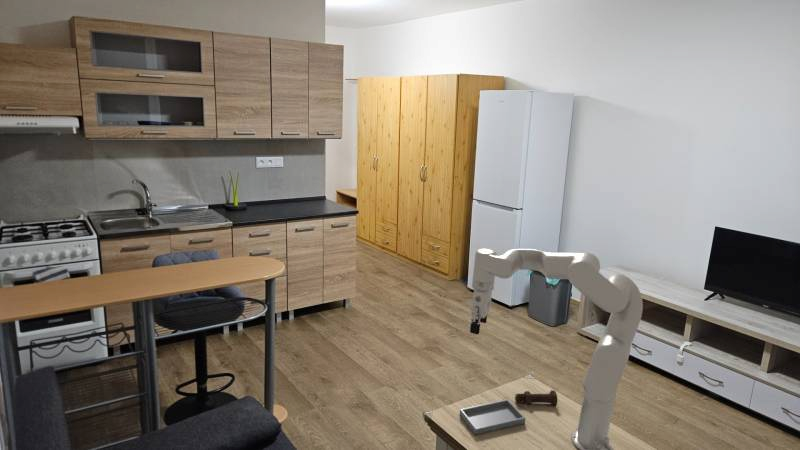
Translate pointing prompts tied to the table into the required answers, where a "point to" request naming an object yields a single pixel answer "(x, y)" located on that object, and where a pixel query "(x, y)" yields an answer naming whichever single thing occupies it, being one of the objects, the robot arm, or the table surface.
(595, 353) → the robot arm
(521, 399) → the bolt
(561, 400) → the table surface
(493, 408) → the parts tray
